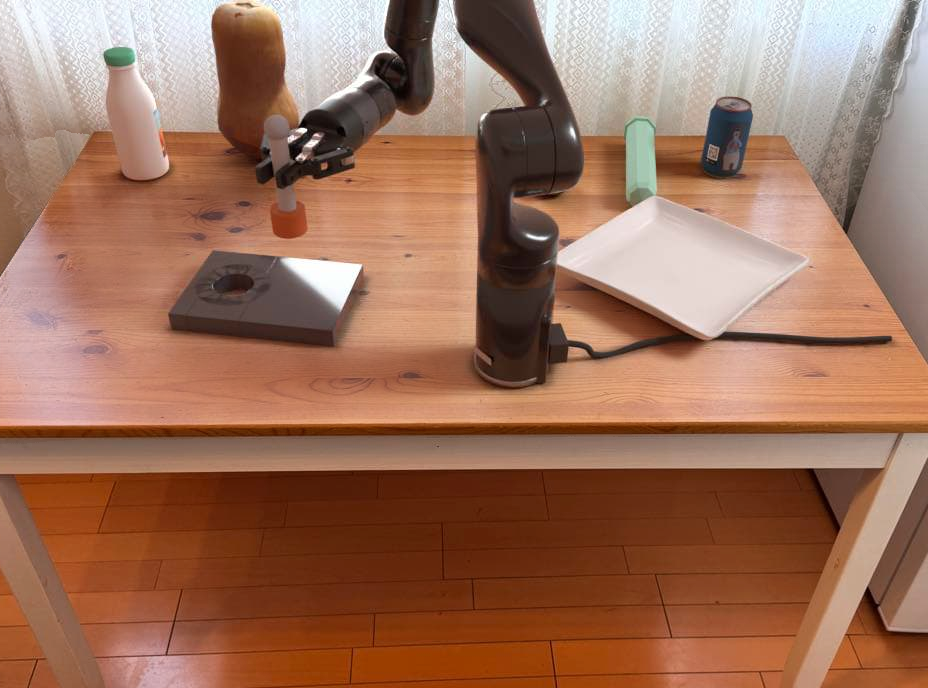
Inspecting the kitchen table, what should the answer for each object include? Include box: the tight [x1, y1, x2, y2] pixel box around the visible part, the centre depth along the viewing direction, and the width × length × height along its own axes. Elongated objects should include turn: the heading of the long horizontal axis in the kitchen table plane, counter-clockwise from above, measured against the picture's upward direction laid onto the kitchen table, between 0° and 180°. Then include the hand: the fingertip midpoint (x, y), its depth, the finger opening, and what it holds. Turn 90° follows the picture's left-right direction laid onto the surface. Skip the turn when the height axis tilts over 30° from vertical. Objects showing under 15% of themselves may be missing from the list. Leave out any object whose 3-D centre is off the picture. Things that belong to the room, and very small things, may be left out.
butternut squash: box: [210, 0, 300, 160], centre depth 151 cm, size 14×13×25 cm
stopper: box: [264, 115, 308, 240], centre depth 112 cm, size 4×4×15 cm
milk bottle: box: [102, 46, 170, 181], centre depth 147 cm, size 8×8×20 cm
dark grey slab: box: [167, 249, 365, 347], centre depth 123 cm, size 22×16×2 cm
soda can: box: [700, 96, 754, 179], centre depth 153 cm, size 7×7×12 cm
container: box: [622, 115, 658, 207], centre depth 153 cm, size 6×6×25 cm
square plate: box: [556, 195, 812, 341], centre depth 129 cm, size 27×27×4 cm
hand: (268, 179), depth 110 cm, fingers closed on stopper, 2 cm apart
